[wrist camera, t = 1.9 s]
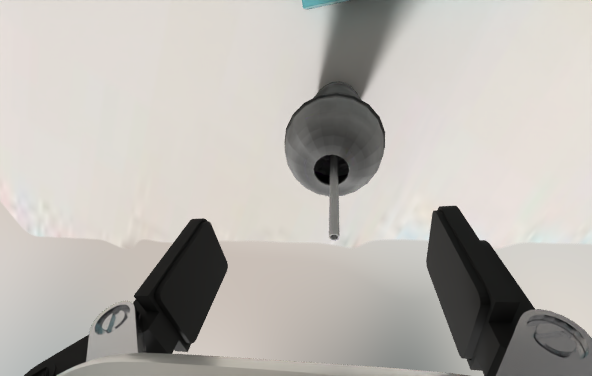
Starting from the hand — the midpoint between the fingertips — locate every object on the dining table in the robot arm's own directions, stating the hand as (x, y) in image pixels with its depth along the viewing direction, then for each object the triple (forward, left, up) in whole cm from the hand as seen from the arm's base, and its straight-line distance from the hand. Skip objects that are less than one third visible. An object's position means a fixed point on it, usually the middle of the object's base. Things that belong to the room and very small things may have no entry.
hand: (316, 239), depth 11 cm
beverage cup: (0, 0, -21) cm, 21 cm away
